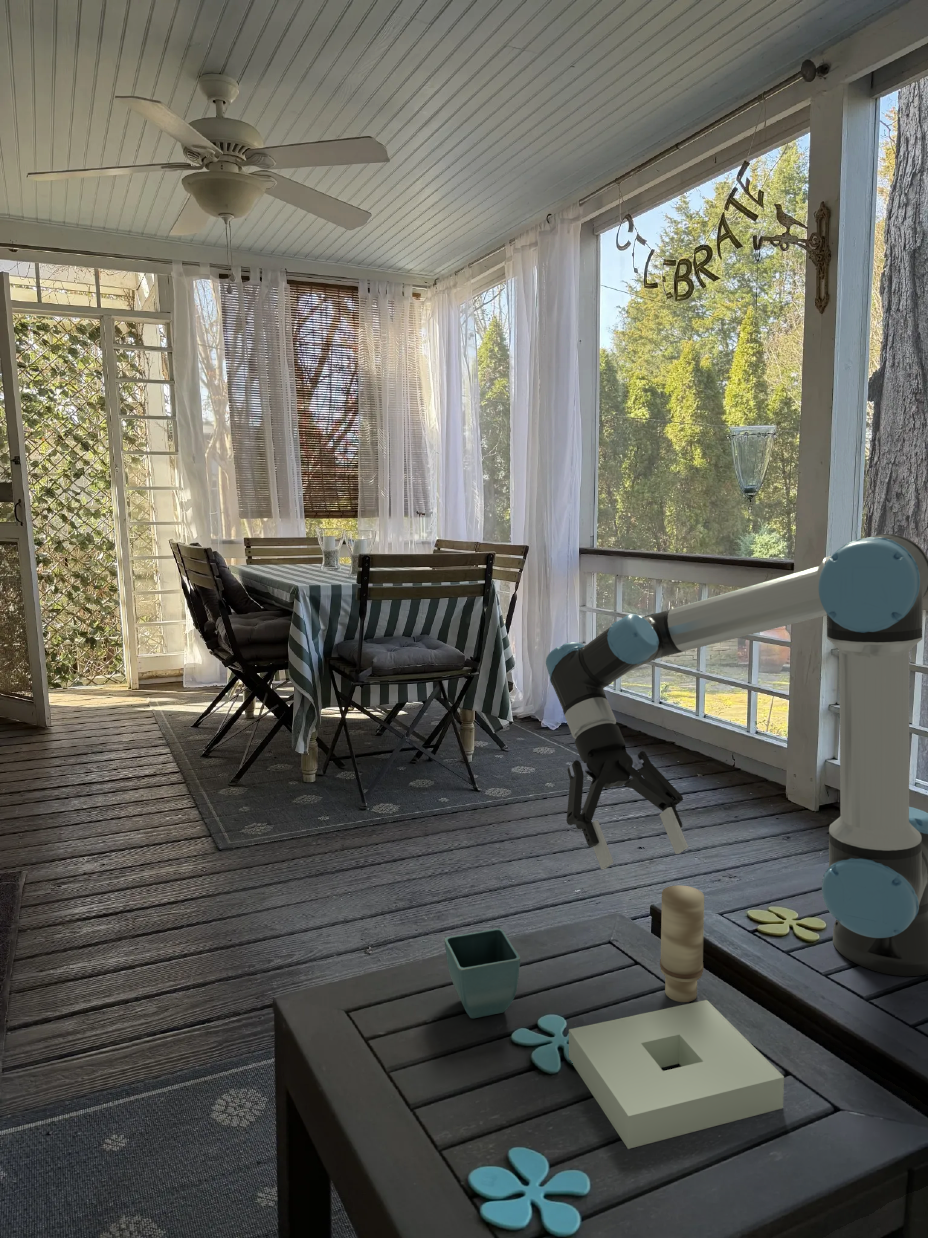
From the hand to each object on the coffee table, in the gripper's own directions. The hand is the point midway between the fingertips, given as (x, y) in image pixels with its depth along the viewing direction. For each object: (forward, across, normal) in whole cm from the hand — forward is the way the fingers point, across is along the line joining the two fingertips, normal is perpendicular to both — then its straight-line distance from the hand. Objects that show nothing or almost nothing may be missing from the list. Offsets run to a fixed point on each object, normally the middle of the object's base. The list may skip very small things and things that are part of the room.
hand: (645, 858), depth 128 cm
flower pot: (+12, +26, -13) cm, 32 cm away
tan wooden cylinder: (+18, 0, -5) cm, 19 cm away
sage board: (+28, +12, +5) cm, 31 cm away
